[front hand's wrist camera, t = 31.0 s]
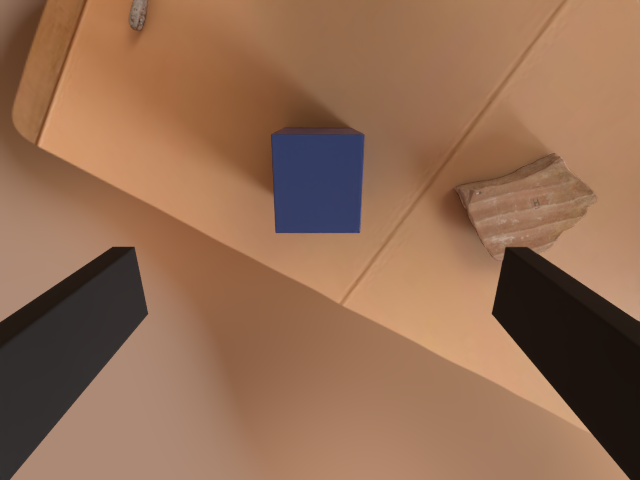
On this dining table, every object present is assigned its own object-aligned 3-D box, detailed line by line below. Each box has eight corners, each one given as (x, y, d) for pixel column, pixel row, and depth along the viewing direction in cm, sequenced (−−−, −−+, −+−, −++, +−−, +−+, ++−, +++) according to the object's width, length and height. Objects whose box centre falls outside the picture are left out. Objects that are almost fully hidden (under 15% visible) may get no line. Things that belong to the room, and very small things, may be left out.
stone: (489, 268, 44) (500, 277, 41) (451, 188, 40) (459, 193, 38) (590, 216, 42) (607, 223, 39) (559, 127, 38) (575, 128, 36)
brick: (349, 202, 41) (360, 233, 31) (286, 202, 41) (275, 233, 31) (351, 127, 38) (364, 134, 28) (283, 127, 38) (271, 134, 28)
